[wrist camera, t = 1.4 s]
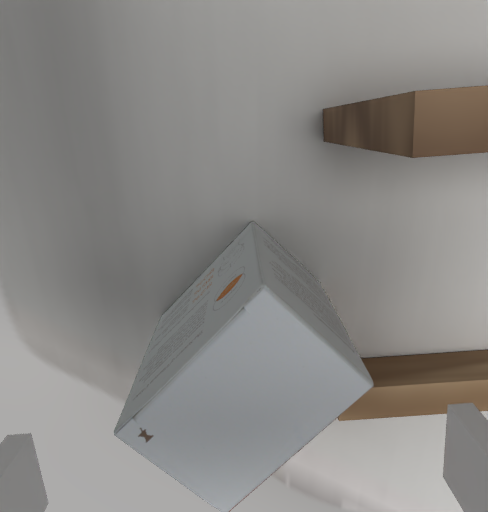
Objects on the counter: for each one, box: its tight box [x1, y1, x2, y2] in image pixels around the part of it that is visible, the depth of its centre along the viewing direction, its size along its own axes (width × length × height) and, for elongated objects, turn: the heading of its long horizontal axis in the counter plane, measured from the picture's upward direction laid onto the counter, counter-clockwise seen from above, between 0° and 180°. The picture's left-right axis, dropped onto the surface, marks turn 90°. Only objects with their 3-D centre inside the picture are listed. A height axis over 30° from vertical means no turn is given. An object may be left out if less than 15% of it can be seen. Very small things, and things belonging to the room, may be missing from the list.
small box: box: [114, 221, 374, 512], centre depth 20 cm, size 8×6×10 cm
